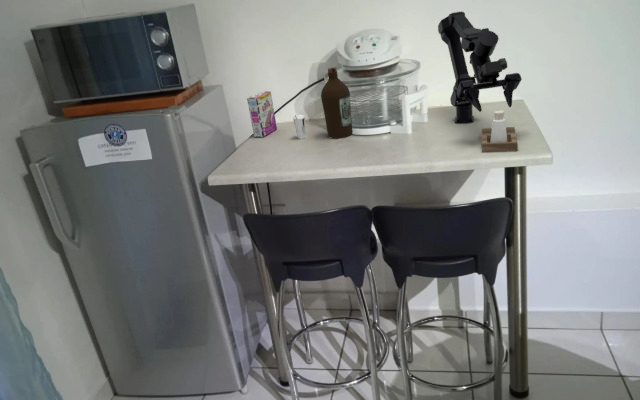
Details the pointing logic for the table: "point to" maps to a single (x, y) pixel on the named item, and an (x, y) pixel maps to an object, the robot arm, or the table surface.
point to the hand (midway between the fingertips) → (495, 108)
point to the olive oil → (336, 106)
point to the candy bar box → (262, 114)
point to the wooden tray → (499, 146)
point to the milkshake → (300, 126)
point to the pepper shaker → (498, 128)
